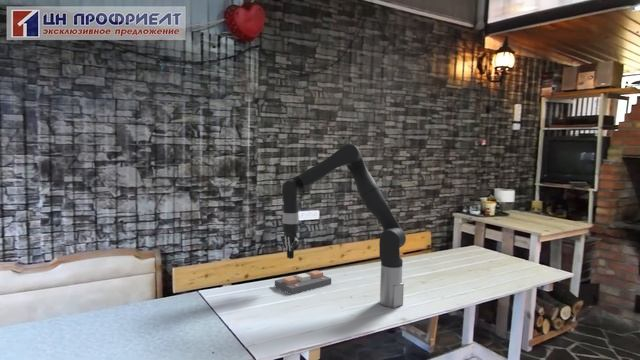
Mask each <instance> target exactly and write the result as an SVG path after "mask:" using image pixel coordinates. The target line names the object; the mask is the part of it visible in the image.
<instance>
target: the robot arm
mask: <svg viewBox="0 0 640 360" xmlns="http://www.w3.org/2000/svg"><path fill="white" fill-rule="evenodd" d="M344 165H345V166H346V167H347V169H348V171H349V172H350V174H351V175H352V177H353V179H354V183H355V186H356V189H357V192H358V195H359V196H360V199H361V200H362V203H363V205H364V206H365V208H366V209H367V211H369V212H370V214H371V215H373V217H375V218H376V220H377V222H379V224H380V225H381V228H382V229H383V231H382V232H381V233H380V237H379V248H378V249H379V252H378V253H379V254H378V255H379V260H380V284H379V288H380V289H379V304H381V305H382V306H384V307H387V308H388V307H389V308H393V309H394V308H397V307H400V306H403V305H404V292H405V291H404V289H405V288H404V285H405V284H404V283H403V263H404V262H403V259H402V258H401V256H400V253H401V252H400V248H402V247H403V246H404V245H405V244H406V240H407V239H406V238H407V237H406V233H405V231H404V230H403V228H402V227H401V225H400V224H399V222H398V221H397V219H396V218H395V216H394V214H393V212H392V210H391V208H390V206H389V204H388V203H387V200H386V199H385V196H384V195H383V193H382V190H381V189H380V187H379V186H378V184H377V182H376V180H375V179H374V177H373V176H372V174H371V173H370V172H369V170H368V168H367V165H366V164H365V161H364V158H363V156H362V153H361V151H360V149H359V148H358V146H357V145H355V144H352V143H346V144H344V145H343V146H342V147H340V148H339V149H338V150H336V151H334V153H333V154H331V155H330V156H328V157H327V158H325V159H324V160H322V161H321V162H319V163H317V164H315V165H313V166H311V167H310V168H308V169H306V170H304V171H303V172H301V173H300V174H298V175H296V176H294V177H292V178H290V179H287V180H285V181H284V182H283V184H282V185H281V186H282V187H281V195H282V202H283V205H282V206H283V208H282V211H283V212H282V232H283V235H282V236H280V240H281V242H282V245H283V248H284V249H285V250H286V258H287V259H294V257H295V256H294V255H295V254H294V253H295V251H296V250H298V248H299V246H300V243H301V240H300V239H298V235H297V233H298V232H299V221H300V217H299V202H298V200H297V199H298V198H297V197H298V196H297V195H298V194H297V193H298V192H300V191H302V190H303V189H304V188H307V187H309V186H311V185H313V184H315V183H317V182H319V181H321V180H322V179H324V178H325V177H326V176H328V174H331V172H332V171H334V170H336V169H337V168H340V167H342V166H344Z"/></svg>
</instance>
